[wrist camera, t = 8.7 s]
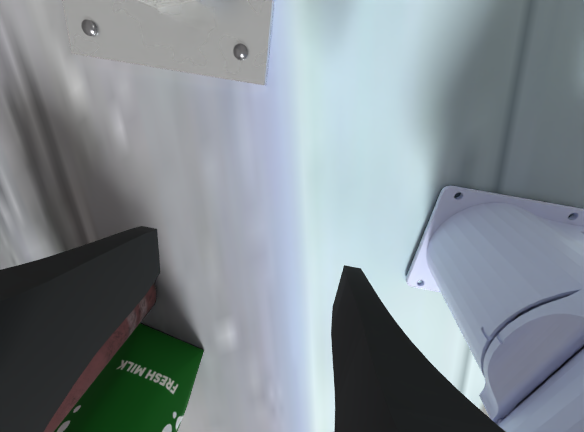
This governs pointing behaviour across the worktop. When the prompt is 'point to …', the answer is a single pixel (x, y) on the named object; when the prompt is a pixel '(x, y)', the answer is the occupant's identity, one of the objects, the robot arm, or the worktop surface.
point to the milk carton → (139, 387)
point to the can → (103, 357)
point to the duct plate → (176, 35)
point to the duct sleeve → (165, 2)
